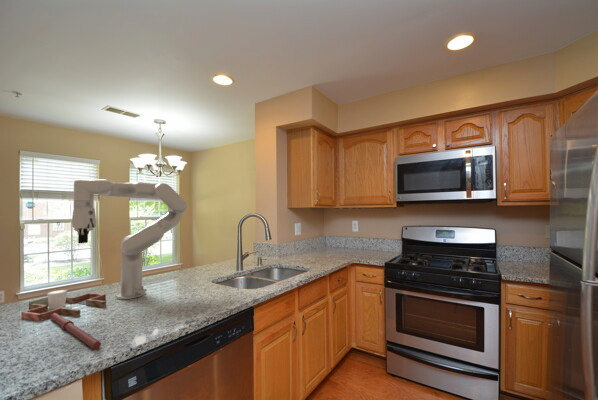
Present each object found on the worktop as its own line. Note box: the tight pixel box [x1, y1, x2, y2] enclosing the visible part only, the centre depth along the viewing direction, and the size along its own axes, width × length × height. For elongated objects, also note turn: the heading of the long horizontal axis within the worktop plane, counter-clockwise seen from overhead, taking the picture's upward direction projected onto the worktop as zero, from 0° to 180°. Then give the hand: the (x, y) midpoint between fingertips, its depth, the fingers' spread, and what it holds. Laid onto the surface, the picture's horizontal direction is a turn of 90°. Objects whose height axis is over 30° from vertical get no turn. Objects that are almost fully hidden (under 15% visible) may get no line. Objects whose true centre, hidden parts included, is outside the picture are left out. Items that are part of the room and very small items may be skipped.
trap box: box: [20, 292, 107, 322], centre depth 121 cm, size 32×27×4 cm
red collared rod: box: [50, 313, 102, 350], centre depth 96 cm, size 45×3×3 cm, turn 56°
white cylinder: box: [46, 289, 68, 310], centre depth 123 cm, size 7×7×7 cm
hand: (83, 242), depth 127 cm, fingers closed
